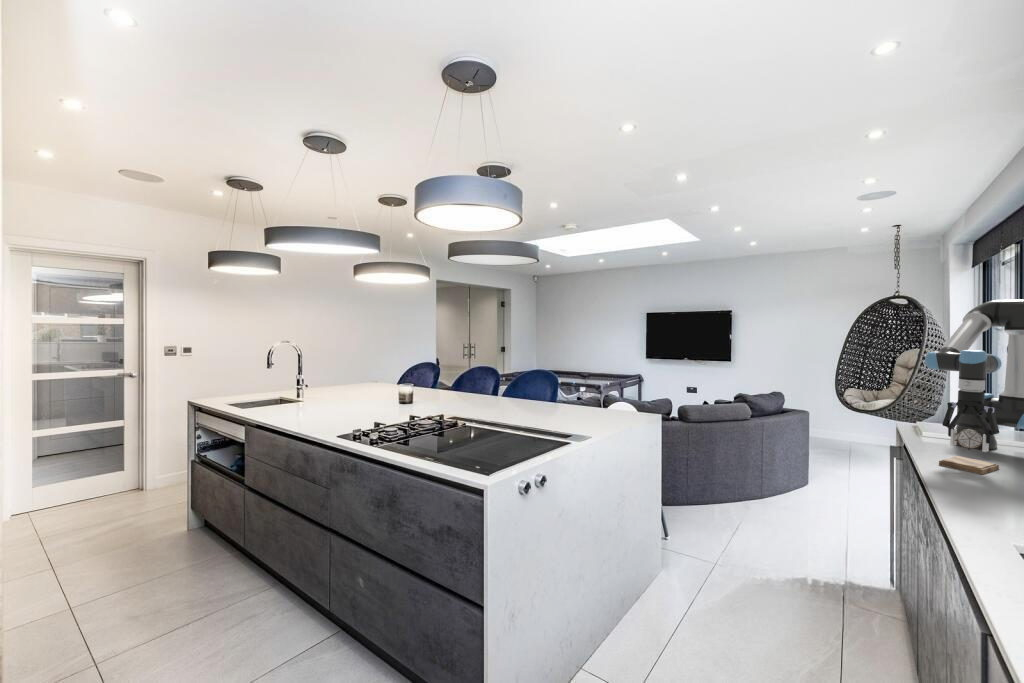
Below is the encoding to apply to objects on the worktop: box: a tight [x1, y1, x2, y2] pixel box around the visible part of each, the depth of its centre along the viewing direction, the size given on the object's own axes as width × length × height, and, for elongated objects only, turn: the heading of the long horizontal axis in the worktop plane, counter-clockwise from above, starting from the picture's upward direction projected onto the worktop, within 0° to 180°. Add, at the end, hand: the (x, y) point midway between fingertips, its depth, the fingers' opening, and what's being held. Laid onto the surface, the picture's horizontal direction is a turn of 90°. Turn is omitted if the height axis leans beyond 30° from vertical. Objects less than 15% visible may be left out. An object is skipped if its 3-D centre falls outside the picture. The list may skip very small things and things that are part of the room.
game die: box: [955, 427, 983, 451], centre depth 191 cm, size 9×8×10 cm
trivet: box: [938, 455, 1000, 475], centre depth 192 cm, size 13×13×2 cm
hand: (968, 448), depth 191 cm, fingers closed on game die, 9 cm apart
